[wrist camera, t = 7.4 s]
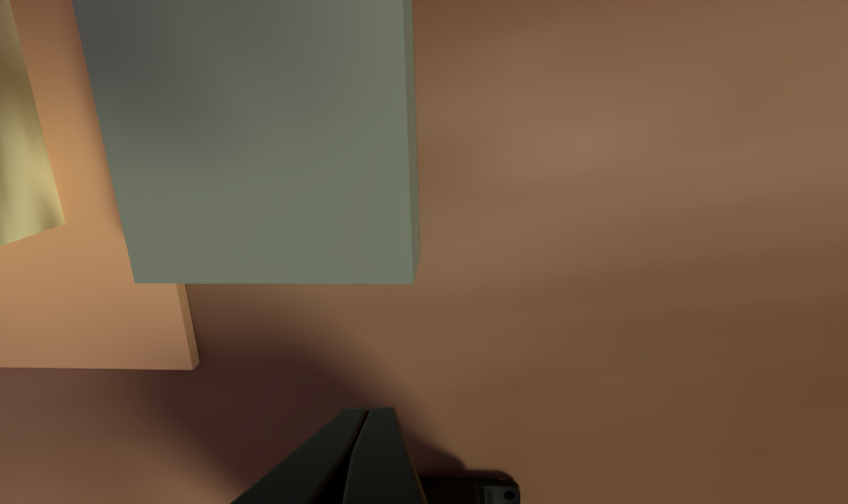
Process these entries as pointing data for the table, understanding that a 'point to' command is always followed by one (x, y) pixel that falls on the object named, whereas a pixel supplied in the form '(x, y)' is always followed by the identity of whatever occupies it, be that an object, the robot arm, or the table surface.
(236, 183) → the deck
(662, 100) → the table surface
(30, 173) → the birch block
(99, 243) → the mat
